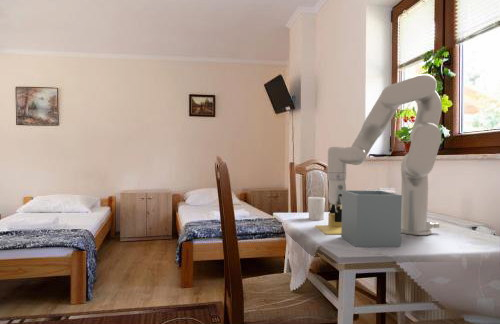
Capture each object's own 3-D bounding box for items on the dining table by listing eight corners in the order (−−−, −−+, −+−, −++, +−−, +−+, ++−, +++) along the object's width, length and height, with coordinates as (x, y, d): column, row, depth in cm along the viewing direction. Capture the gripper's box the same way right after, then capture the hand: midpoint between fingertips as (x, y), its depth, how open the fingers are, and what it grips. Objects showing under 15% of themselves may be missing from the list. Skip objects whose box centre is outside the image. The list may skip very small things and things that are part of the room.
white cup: (304, 218, 178) (305, 196, 178) (319, 217, 180) (320, 196, 180) (312, 221, 170) (312, 198, 170) (327, 220, 173) (328, 198, 172)
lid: (352, 227, 159) (353, 213, 158) (367, 235, 143) (368, 220, 142) (315, 227, 157) (315, 213, 157) (326, 236, 141) (326, 220, 141)
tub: (381, 236, 139) (381, 190, 139) (400, 246, 124) (401, 195, 124) (341, 236, 138) (342, 190, 137) (356, 247, 123) (357, 194, 123)
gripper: (353, 178, 147) (352, 224, 147) (338, 175, 164) (338, 216, 164) (334, 178, 146) (333, 224, 147) (322, 175, 163) (321, 216, 164)
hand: (335, 220), depth 156 cm, fingers open, 6 cm apart
